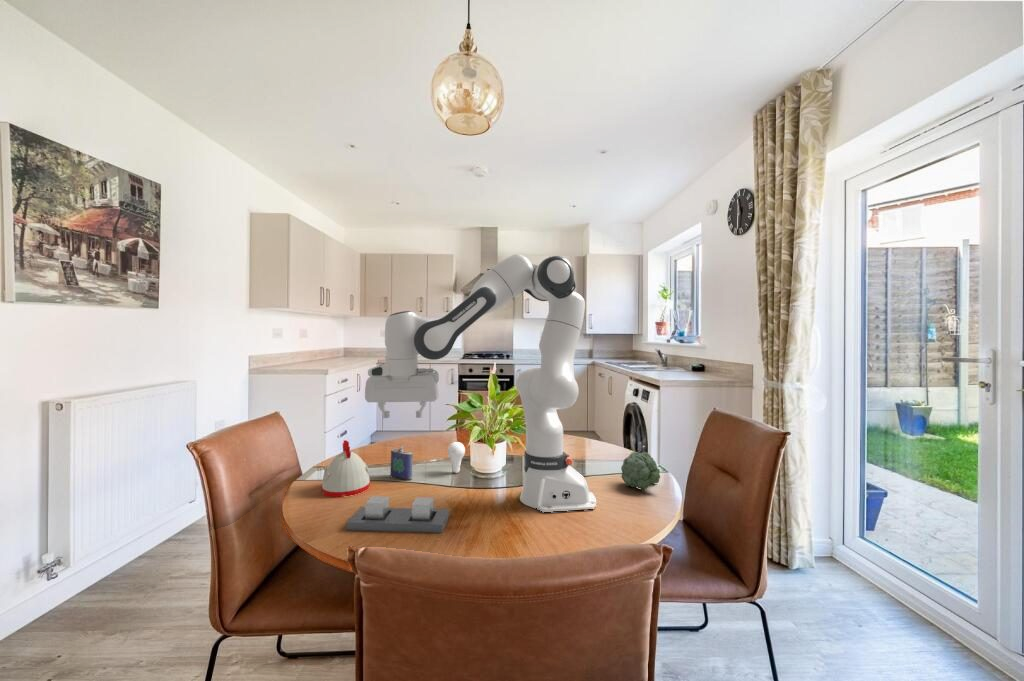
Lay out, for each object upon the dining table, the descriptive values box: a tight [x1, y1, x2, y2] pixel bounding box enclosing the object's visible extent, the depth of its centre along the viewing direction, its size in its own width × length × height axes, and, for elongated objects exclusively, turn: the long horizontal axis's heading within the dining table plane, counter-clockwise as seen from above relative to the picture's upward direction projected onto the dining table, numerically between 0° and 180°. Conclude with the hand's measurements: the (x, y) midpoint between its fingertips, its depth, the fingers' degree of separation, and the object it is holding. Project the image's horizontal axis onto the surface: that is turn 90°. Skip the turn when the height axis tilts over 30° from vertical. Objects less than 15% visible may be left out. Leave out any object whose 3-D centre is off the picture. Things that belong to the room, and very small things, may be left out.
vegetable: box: [620, 451, 661, 490], centre depth 132 cm, size 12×13×15 cm
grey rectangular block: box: [364, 495, 390, 521], centre depth 104 cm, size 4×4×6 cm
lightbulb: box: [447, 441, 466, 474], centre depth 143 cm, size 6×6×11 cm
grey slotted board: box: [345, 506, 450, 534], centre depth 103 cm, size 24×9×2 cm, turn 88°
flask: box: [390, 446, 414, 481], centre depth 137 cm, size 9×3×11 cm, turn 61°
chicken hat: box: [321, 439, 371, 498], centre depth 127 cm, size 14×14×15 cm
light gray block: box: [411, 496, 435, 522], centre depth 103 cm, size 4×4×6 cm
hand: (402, 417), depth 114 cm, fingers open, 8 cm apart
